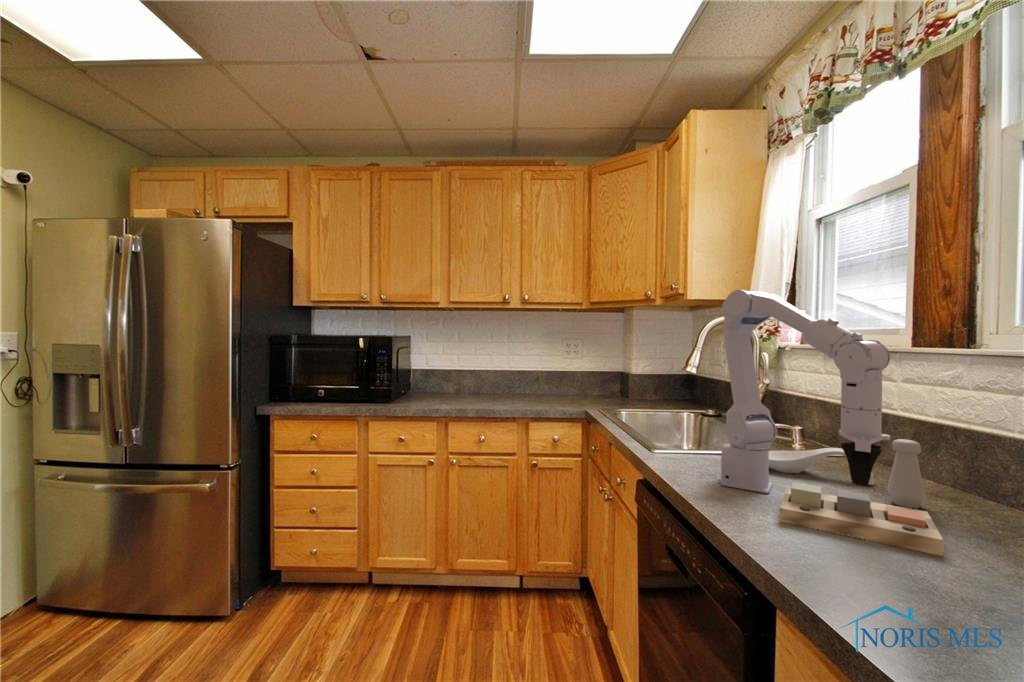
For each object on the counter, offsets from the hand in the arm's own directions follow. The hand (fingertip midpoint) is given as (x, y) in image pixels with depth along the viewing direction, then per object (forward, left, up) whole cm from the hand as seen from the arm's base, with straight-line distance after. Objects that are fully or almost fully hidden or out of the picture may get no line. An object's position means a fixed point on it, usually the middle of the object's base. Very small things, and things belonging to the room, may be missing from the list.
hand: (859, 484), depth 79 cm
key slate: (-1, 0, -5) cm, 5 cm away
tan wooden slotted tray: (-1, 0, -7) cm, 7 cm away
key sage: (-8, 0, -5) cm, 9 cm away
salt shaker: (+8, +18, -8) cm, 21 cm away
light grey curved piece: (-8, +32, -8) cm, 34 cm away
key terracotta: (+6, 0, -7) cm, 9 cm away
